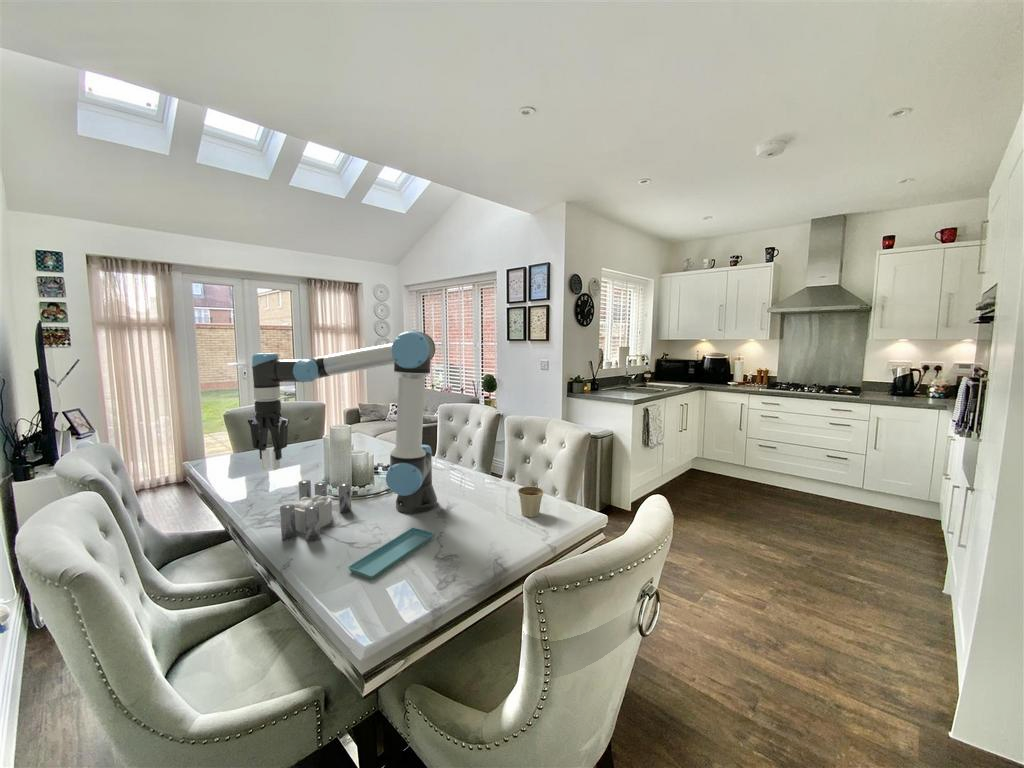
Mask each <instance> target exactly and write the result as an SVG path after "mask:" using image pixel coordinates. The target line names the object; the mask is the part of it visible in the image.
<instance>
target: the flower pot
mask: <svg viewBox="0 0 1024 768" xmlns="http://www.w3.org/2000/svg"><path fill="white" fill-rule="evenodd" d="M517 493H518V496H519V500H520V502H519V503H520V509H521V515H522V516H523V517H528V518H535V517H538V516H539V514H540V511H541V502H542V499H543V495H544V493H545V490H544V489H543V488H541V487H537V486H533V485H531V486H530V485H529V486H522V487H520V488H518V489H517Z"/></svg>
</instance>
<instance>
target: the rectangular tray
mask: <svg viewBox="0 0 1024 768" xmlns="http://www.w3.org/2000/svg"><path fill="white" fill-rule="evenodd" d="M434 536H435V532H432V531H428V530H424V529H420V528H417V527H411V528H409V529H407V530H406V531H405V532H403V533H401V534H399V535H398V536H396V537H394V538H393V539H391V540H389V541H388V542H386V543H385V544H383V545H381V546H380V547H378V548H376V549H374V551H371V552H370V553H368V554H367V555H365V556H363V557H362V558H361V557H360V559H359V560H356V561H355V562H353V563H352V564H350V565H348V566H347V569H348V570H349V571H350V572H351V573H352V574H355V575H357V576H360V577H363V578H364V579H365V578H366V579H368V580H371V581H373V580H375V579H376V578H378V577H379V576H381V575H382V574H384V573H385V572H386V571H388V570H390V569H391V568H393V567H394V566H396V565H397V564H398V563H400V562H401V561H403V560H404V559H407V558H408V557H409V556H410V555H412V554H414V553H415V552H416V551H418V550H419V549H420V548H422V547H424V546H425V545H426V544H428V543H429V542H431V541H432V540H433V538H434Z"/></svg>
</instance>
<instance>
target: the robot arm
mask: <svg viewBox="0 0 1024 768" xmlns="http://www.w3.org/2000/svg"><path fill="white" fill-rule="evenodd" d="M435 353H436V344H435V342H434V339H433V338H432V337H431V336H430V335H429V334H427V333H425V332H420V331H415V330H411V331H410V330H407V331H405V332H402V333H400V334H399V335H397V336H396V337H395V338H394V340H393V341H392V342H391V343H386V344H381V345H376V346H369V347H365V348H364V347H363V348H360V349H359V348H358V349H353V350H348V351H343V352H342V351H341V352H336V353H332V354H327V355H320V356H315V357H308V358H296V359H294V358H292V359H288V358H287V359H285V358H284V359H283V358H280V357H279V355H278V353H276V352H273V353H272V352H269V353H268V352H260V353H259V352H258V353H254V354H253V355H252V357H251V358H252V359H251V369H252V380H253V381H252V382H253V399H254V400H255V401H254V402H253V403H254V412H255V416H254V417H253V418H250V419H247V423H248V426H249V429H250V434H251V435H250V436H251V441H252V442H251V443H252V447H253V449H256V450H259V451H258V452H259V458H260V460H261V465H262V467H261V468H262V471H266V470H268V469H270V468H271V462H270V461H272V470H273V471H277V470H278V469H280V468H281V459H282V458H283V455H282V449H284V448H287V447H288V431H289V430H288V428H289V424H290V419H289V418H284V417H283V416H282V414H281V411H282V405H281V404H282V401H281V400H280V398H281V383H284V382H285V383H313V382H314V381H315V380H317V379H322V378H326V377H331V376H337V375H341V374H342V375H343V374H347V373H352V372H353V373H354V372H359V371H365V370H370V369H375V368H381V367H387V366H392V365H393V373H395V375H396V376H398V378H397V379H398V380H397V381H398V382H397V404H396V406H397V407H396V422H395V423H396V425H395V447H394V448H393V449H392V450H391V451H390V453H389V455H390V457H389V458H390V460H389V468H388V469H387V471H386V474H385V483H386V486H387V487H388V489H389V490H390V491H391V492H392V493H394V494H396V495H397V497H396V499H395V508H396V510H397V511H399V512H401V513H404V514H418V513H424V512H429V511H431V510H433V509H435V508H436V507H437V505H438V497H437V494H436V491H435V488H434V486H433V469H432V468H433V463H432V462H433V460H432V459H433V457H432V455H433V453H432V447H431V446H430V445H428V444H423V443H422V442H423V429H424V428H423V426H424V425H423V424H424V407H425V406H424V405H425V385H426V377H428V376H429V375H430V374H431V361H432V360H433V358H434V357H435V355H436V354H435ZM269 432H270V436H271V441H272V446H273V449H272V451H271V457H272V458H271V460H270V448H269V446H268V434H269Z"/></svg>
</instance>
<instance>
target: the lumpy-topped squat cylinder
mask: <svg viewBox="0 0 1024 768" xmlns="http://www.w3.org/2000/svg"><path fill="white" fill-rule="evenodd" d="M293 504H294V505H295V524H296V530H298V531H297V532H299V531H300V532H299V533H302V532H306V525H305V507H307V506H310V505H318V506H319V518H320V529H322V528H324V527H326V526H327V524H328V525H329V524H331V522H332V521H333V508H332V507H333V506H332V504H333V503H332V498H331V496H328V495H327V496H320V495H316V496H315V495H314V496H311V497H310V498H308V497H303V498H301V499H300V501H299V500H298V501H297V502H295V503H293ZM331 520H332V521H331ZM325 525H326V526H325ZM323 526H324V527H323ZM321 527H322V528H321Z"/></svg>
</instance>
